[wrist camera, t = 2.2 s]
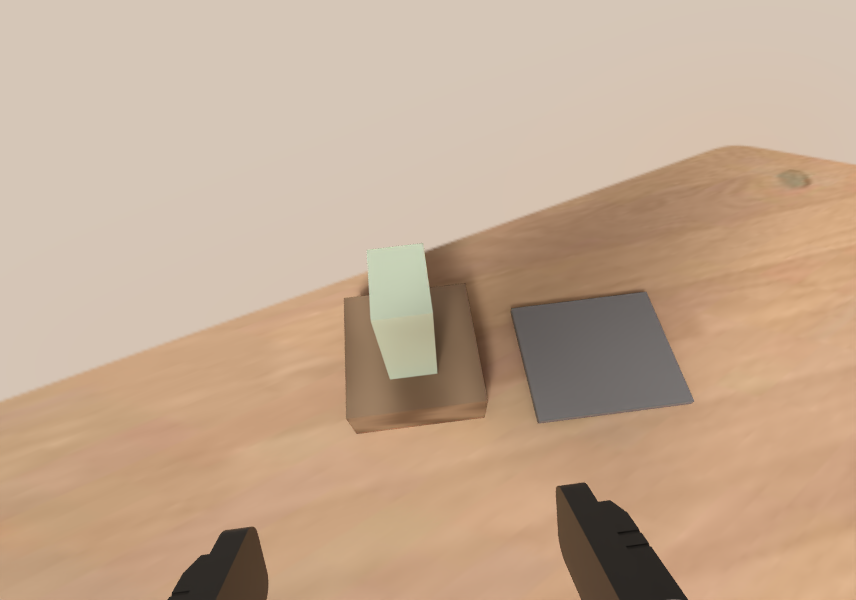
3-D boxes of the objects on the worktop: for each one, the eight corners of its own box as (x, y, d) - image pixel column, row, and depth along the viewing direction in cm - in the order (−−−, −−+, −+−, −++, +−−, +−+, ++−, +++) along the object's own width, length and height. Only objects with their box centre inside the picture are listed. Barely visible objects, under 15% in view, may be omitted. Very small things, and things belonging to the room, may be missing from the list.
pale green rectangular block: (429, 314, 35) (423, 243, 28) (437, 373, 33) (432, 313, 25) (385, 319, 35) (366, 250, 28) (389, 379, 33) (370, 320, 25)
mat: (643, 295, 40) (646, 291, 39) (690, 403, 35) (694, 401, 34) (510, 311, 40) (511, 308, 39) (537, 423, 34) (539, 421, 34)
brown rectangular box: (464, 307, 40) (465, 283, 37) (484, 417, 35) (487, 400, 31) (353, 321, 40) (343, 298, 36) (356, 433, 35) (346, 419, 31)
